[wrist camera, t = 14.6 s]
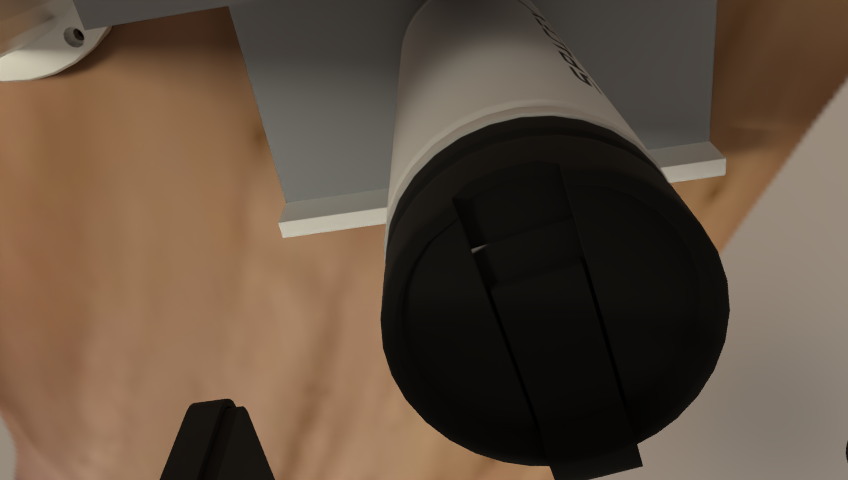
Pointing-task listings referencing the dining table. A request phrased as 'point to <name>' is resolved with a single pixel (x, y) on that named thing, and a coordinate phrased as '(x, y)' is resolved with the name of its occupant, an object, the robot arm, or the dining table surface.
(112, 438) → the dining table surface
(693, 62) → the grey bookend
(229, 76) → the dining table surface
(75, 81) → the dining table surface
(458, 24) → the travel mug
